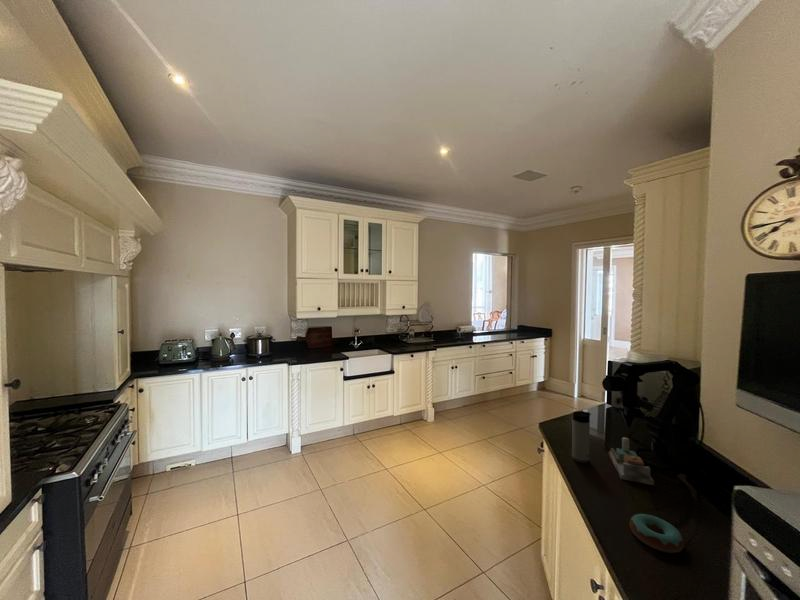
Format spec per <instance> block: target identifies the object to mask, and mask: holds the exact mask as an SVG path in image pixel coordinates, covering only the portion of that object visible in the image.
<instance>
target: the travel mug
mask: <svg viewBox="0 0 800 600" xmlns="http://www.w3.org/2000/svg"><path fill="white" fill-rule="evenodd" d="M591 415H592V414H591V413H590V412H589V411H583V410H578V411H577V410H576V411H574V412H572V433H571V434H572V435H571V436H572V437H571V439H572V440H571V441H572V442H571V444H572V445H571V459H572V460H574V461H575V462H578V463H579V464H581V463H582V464H588V463H589V462H590V434H591V433H590V432H591V431H590V430H591V429H590V427H591V426H590V425H591V423H590V422H591V420H590V417H591Z"/></svg>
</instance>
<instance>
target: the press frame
mask: <svg viewBox="0 0 800 600" xmlns="http://www.w3.org/2000/svg"><path fill="white" fill-rule="evenodd" d="M635 454H636V455H637V457H639V456H638V454H637V453H636V452H635ZM608 456H609V458H610V460H611V462H612V464H613V465H614V467H615V469H616V471H617V473H618V475H619V477H620V479H621V480H625V481H630V482H635V483H640V484H645V485H650V486H655V480H654V479H653V477H652V476H651V468H650V466H647V465H644V466H642V465H636V464H631V463H625V462H623V461H620V459H619V457H618V455H617V454H616V449H614V447H610V450H609V451H608Z"/></svg>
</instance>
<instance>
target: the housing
mask: <svg viewBox="0 0 800 600" xmlns="http://www.w3.org/2000/svg"><path fill="white" fill-rule="evenodd" d="M637 456H638V455H637ZM637 456H632V455H626V454H624V462H625V463H631V464H636V465H642V466H645V463H644V461H643V459H642V458H641V457H640V456H638V457H637Z"/></svg>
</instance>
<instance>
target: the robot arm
mask: <svg viewBox="0 0 800 600" xmlns="http://www.w3.org/2000/svg"><path fill="white" fill-rule="evenodd" d="M665 371H666V372H668V373H669V374H670V375H671V376H672V377H671V384H672V387H671V389H670V390H669V393H668V395H667V397H666V399H665V401H664V403H663V405H662V406H661V408H660V411H659V413H658V414H657V415H655V416H652V415H650V416H649V417H648V420H647V421H646V422H645V424H646V426H645V428H646V431H647V432H648V434H649V436H650V437H652V440H651V441H650V450H651V451H652V453H653V454H654V455H655V456H656V457H662V458H668V459H675V458H676V457H675V456H674V446H676V445H678V444H677V443H678V442H679V440H678V438H676V436H675V435H674V434H673V431H674V426H673V425H674V424H673V420H674V419H675V416H676V414H677V412H678V411H679V409H680V407H681V405H682V403H683V402H684V401H683V400H684V399H685V397H686V395H687V394H688V392H690V391H692V390H694V389H695V388H696V387H697V386H698V384H699V383H700V382H701V377H700V376H699V374H698V373H697V372H694V371H692V370H691V369H689V368H687V367H685V366H683V365H682V364H681V363H679V362H678V361H676V360H672V359H665V360H656V361H647V362H635V361H622V362H620V364H619V366H618V368H617V369H616V370H615V372H614V373H613V374H612V375H609V374H607V375H606V374H605V378H603V380H602V382H601V384H602V388H603V389H604V391H605V392H619V393H620V396H621V397H616V398H615V404H616V405H619V404H620V407H618V409H619V412H620V414H621V415H622V419H623V420H624V423H625V425H626V427H627V428H631V426H632V424H633V422H634V419H635V418H636V419H641V420H642V419H643V420H644V419H645V414H646V413H644V412H643V411H642V410H641V408H642V409H644V410H647V411H648V412H650V413H651V412H653V410H654V408H655V404H654V403H652V402H651V401H649V400H648V398H647V397H646V396H640V395H638V388H639V387H638V385H639V383H643V382H644V380H643V379H642V378H641V377H642V376H644V375H645V374H648V373H650V374H651V373H658V372H665Z"/></svg>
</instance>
